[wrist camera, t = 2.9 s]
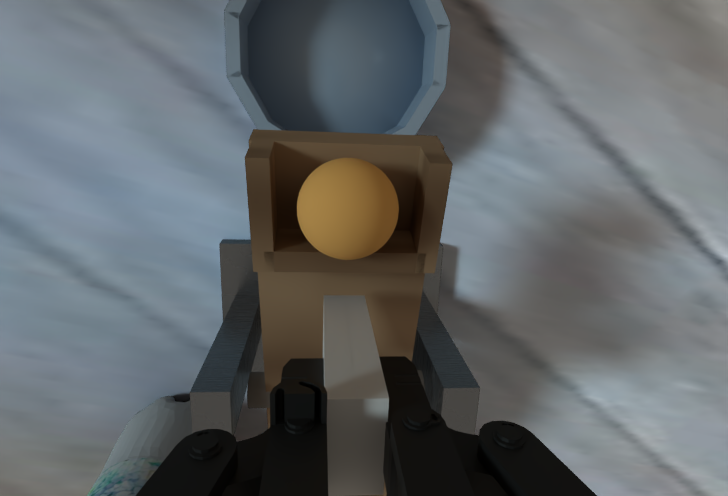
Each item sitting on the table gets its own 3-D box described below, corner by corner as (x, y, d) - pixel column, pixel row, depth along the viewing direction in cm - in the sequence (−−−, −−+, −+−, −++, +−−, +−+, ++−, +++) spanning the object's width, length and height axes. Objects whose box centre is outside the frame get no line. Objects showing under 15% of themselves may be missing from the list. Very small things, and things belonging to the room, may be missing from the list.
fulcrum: (428, 364, 33) (485, 494, 22) (228, 366, 32) (176, 506, 21) (439, 242, 31) (509, 317, 19) (222, 239, 30) (160, 318, 18)
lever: (388, 422, 33) (405, 547, 26) (271, 425, 32) (256, 555, 25) (429, 100, 21) (481, 164, 14) (250, 92, 21) (213, 156, 14)
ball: (284, 157, 15) (276, 208, 13) (378, 128, 15) (390, 175, 12) (317, 233, 17) (316, 291, 15) (402, 209, 17) (415, 265, 14)
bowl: (425, 160, 29) (439, 165, 26) (240, 154, 28) (229, 159, 25) (440, -45, 26) (458, -69, 23) (233, -61, 25) (220, -87, 22)
